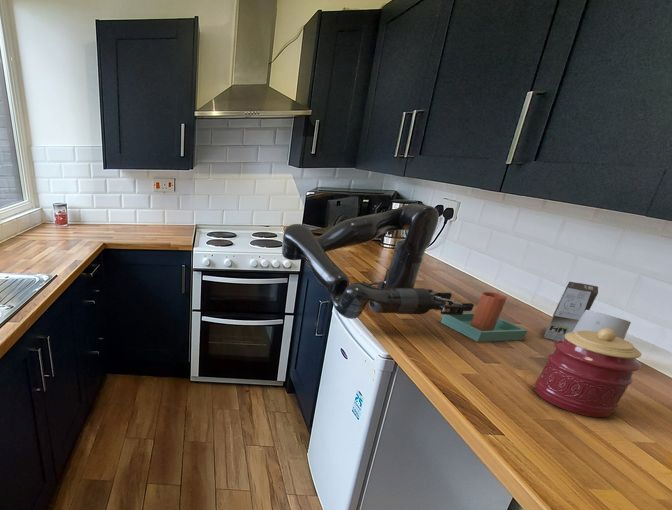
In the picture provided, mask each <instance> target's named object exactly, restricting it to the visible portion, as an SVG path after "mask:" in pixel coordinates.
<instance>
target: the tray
mask: <svg viewBox="0 0 672 510" xmlns="http://www.w3.org/2000/svg"><path fill="white" fill-rule="evenodd" d="M474 313H475V312H463V314H462V315H446V314H442V318H441V320H440V324H443V325H445V326H446V327H449V328H450V329H452V330H454V331H456V332H458V333H460V334H461V335H464V336H466V337H468V338H469V339H471V340H473V341H475V342H476V343H481V342H483V343H485V342H486V343H487V342H501V341H502V342H505V341H506V342H507V341H524V340H525V337H526V335H527V333H528V329H525V328H523V327H521V326H519V325H516V324H514V323H512V322H510V321H507V320H505V319H503V318H501V317H499V319H498V321H497V324H496V326H495V328H494V330H493V331H480V330H478V329H476V328H474V327H472V326H470V323H471V321H472V318H473V316H474Z"/></svg>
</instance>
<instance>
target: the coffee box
mask: <svg viewBox="0 0 672 510" xmlns="http://www.w3.org/2000/svg"><path fill="white" fill-rule="evenodd" d="M598 294H599V286H598V285H592V284H587V283H581V282H575V281H568V283H567V285H566V287H565V289H564V291H563V293H562V295H561V297H560V299H559V302H558V303H557V306H556V308H555V310H554V312H553V314H552V316H551V319H550V321H549V323H548V325H547V328H546V329H545V333H544V336H543V338H545V339H547V340H552V341H555V342H557V341H559V340H565V339H566V338H565V334H566V333H570V332H572V331H573V329H574V328H575V326H576V325H577V323H578V321H579V320H580V318H581V317H582V315H583V313H584V312H585V310H591V308H592V306H593V304H594V302H595V300H596V298H597V296H598Z"/></svg>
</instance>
